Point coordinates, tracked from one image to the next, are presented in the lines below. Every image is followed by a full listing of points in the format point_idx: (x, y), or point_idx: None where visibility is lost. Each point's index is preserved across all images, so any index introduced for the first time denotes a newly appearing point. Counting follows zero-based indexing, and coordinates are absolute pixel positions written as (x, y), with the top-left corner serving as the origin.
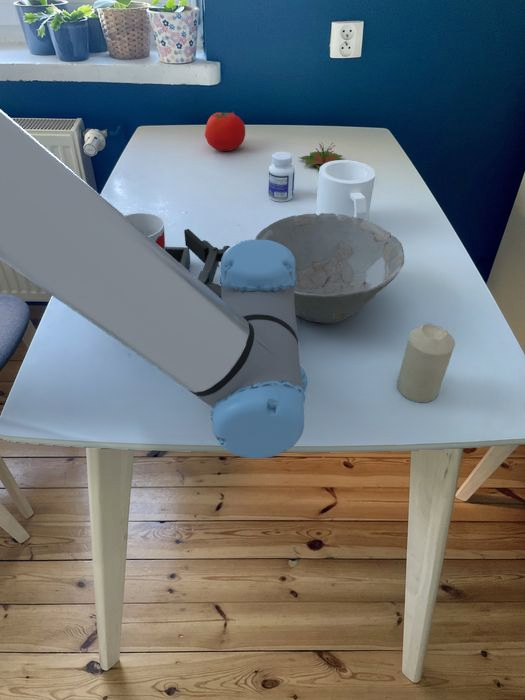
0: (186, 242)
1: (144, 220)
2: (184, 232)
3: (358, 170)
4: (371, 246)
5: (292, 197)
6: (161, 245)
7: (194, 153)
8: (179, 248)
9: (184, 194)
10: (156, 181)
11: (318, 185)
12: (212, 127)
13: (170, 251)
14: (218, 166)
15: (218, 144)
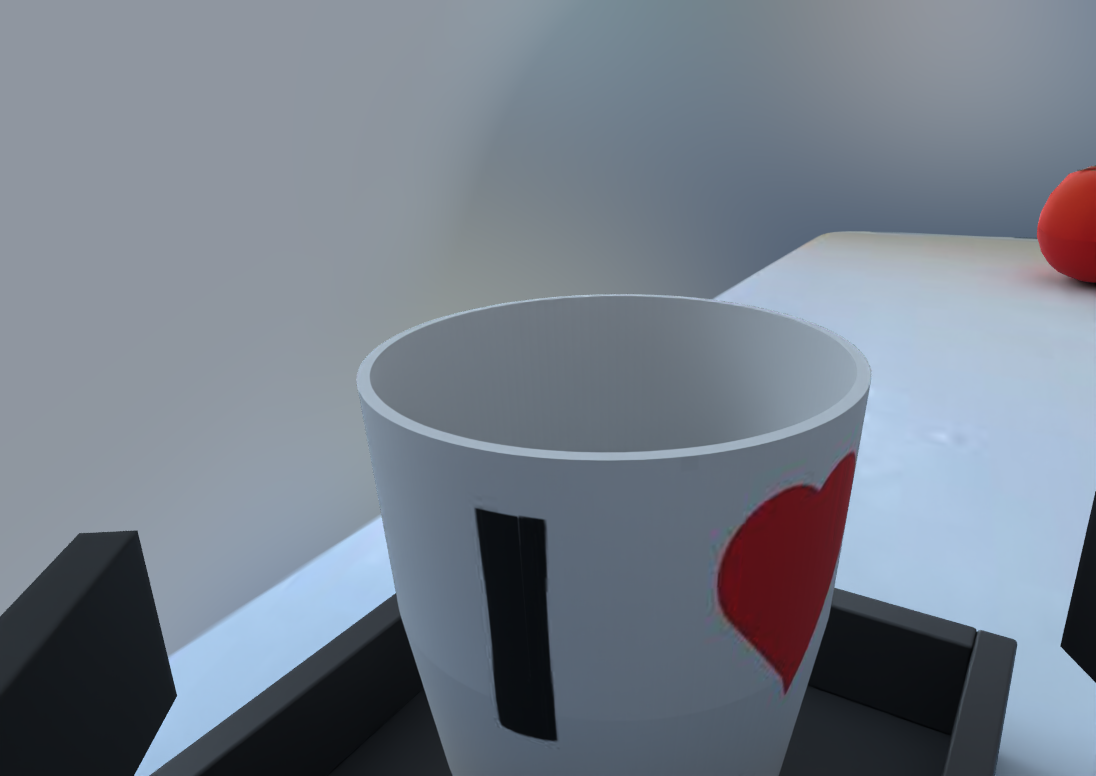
0: (1090, 625)
1: (707, 357)
2: (1094, 510)
3: None
4: None
5: None
6: (795, 591)
7: (986, 283)
8: (935, 627)
9: (948, 376)
10: (838, 329)
11: None
12: (1079, 196)
13: (858, 630)
14: (1089, 318)
15: (1091, 255)
